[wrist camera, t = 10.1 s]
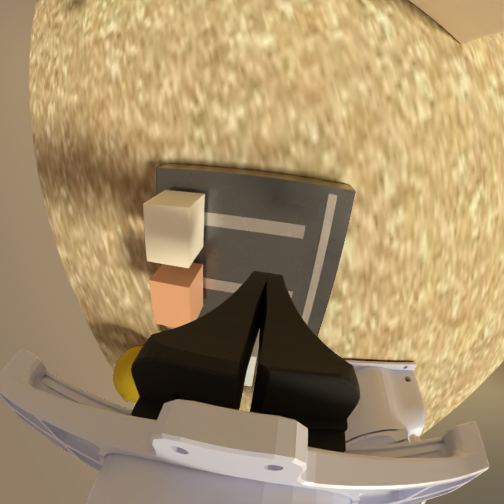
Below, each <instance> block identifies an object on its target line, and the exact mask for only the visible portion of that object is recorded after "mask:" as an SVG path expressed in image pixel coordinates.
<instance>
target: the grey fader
mask: <svg viewBox="0 0 504 504" xmlns="http://www.w3.org/2000/svg"><path fill="white" fill-rule="evenodd" d="M259 332H260V329H259ZM259 332H258V335H257V338H256V342H255V345H254V348H253V352H252V355H251V358H250V362H249V365H248V369H247V373H246V378H245V383H244V385H245V386H251V387H252V382H253V376H254V371H255V365H256V359H257V353H258V347H259Z"/></svg>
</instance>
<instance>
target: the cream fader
mask: <svg viewBox="0 0 504 504" xmlns="http://www.w3.org/2000/svg"><path fill="white" fill-rule="evenodd" d="M204 203H205V194H203V193H193V192H182V191H170V190H164V191H163V192H161V193H159V194H158V195H156V196H154V197H153V198H151V199H149V200H148V201H146V202H145V203H143V214H144V231H145V244H146V256H147V261H149V262H155V263H160V264H166V265H172V266H178V267H184V268H189V267H190V265H191V264H192V262H193V261H194V259H195V258H196V257H197V255H198V254H199V252H200V251H201V249H202V248H203V238H204Z"/></svg>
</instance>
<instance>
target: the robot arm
mask: <svg viewBox="0 0 504 504" xmlns="http://www.w3.org/2000/svg"><path fill="white" fill-rule="evenodd" d="M259 328H260V332H259ZM258 332H259V349H258V366H257V375H256V381H255V386H254V392H253V398H252V403H251V409H250V412H247V411H241V410H239V408H240V403H241V398H242V393H243V388H244V383H245V378H246V373H247V369H248V365H249V362H250V358H251V355H252V352H253V348H254V345H255V342H256V338H257V335H258ZM415 367H416V364H415V363H414V362H376V361H356V360H344V359H342V358H341V357H339V356H338V355H337V354H335V353H334V352H333V351H332V350H331V349H329V348H328V347H327V346H326V345H325V344H324V343H323V342H322V341H321V340H320V339H319V338H318V337H317V336H316V335H315V334H314V333H313V332H312V331H311V329H310V328H309V327H308V325H307V324H306V323H305V321H304V320H303V318H302V317H301V315H300V314H299V312H298V310H297V309H296V307H295V305H294V303H293V301H292V299H291V297H290V295H289V292H288V290H287V287H286V284H285V281H284V277H283V276H282V275H280V274H273V273H266V272H259V271H253V272H252V273H251V275H250V276H249V277H248V278H247V280H246V281H245V282H244V283H243V284H242V285H241V286H240V287H239V288H238V289H237V290H236V291H235V292H234V293H233V294H232V295H231V296H230V297H229V298H228V299H226V300H225V301H224V302H223V303H222V304H220V305H219V306H218V307H216V308H215V309H213V310H212V311H210V312H209V313H207V314H205V315H203V316H202V317H200V318H198V319H196V320H194V321H192V322H189V323H187V324H185V325H182V326H179V327H177V328H174V329H170V330H167V331H163V332H160V333H156V334H152V335H151V337H150V338H149V339H148V340H147V342H146V343H145V344H144V345H143V347H142V348H141V350H140V352H139V353H138V355H137V357H136V358H135V360H134V362H133V363H132V367H131V373H132V377H133V380H134V383H135V386H136V388H137V391H138V394H139V396H140V397H139V399H138V401H137V403H136V405H135V407H134V409H133V410H130V409H127V408H125V407H122V406H120V405H117V404H114V403H112V402H109V401H107V400H105V399H102V398H100V397H98V396H95V395H93V394H91V393H89V392H86V391H84V390H82V389H80V388H78V387H76V386H74V385H72V384H70V383H68V382H66V381H64V380H62V379H60V378H58V377H57V376H55V375H53V374H51V373H49V372H47V370H46V367H45V365H44V364H43V362H42V361H41V360H40V359H39V358H38V357H37V356H36V355H34V354H32V353H30V352H29V351H27V350H25V349H24V348H21V349H20V350H19V351H18V352H17V353H16V354H15V356H14V357H13V358H12V359H11V360H10V362H9V363H8V364H7V365H6V367H5V368H4V369H3V370H2V371H1V372H0V396H1V397H2V398H3V400H4V401H5V402H6V403H7V404H8V406H9V407H10V408H11V409H12V410H13V411H14V413H15V414H16V415H17V416H18V417H19V418H20V419H21V420H23V421H24V422H25V423H27V424H28V425H29V426H30V427H32V428H33V429H35V430H36V431H37V432H39V433H40V434H41V435H43V436H44V437H46V438H47V439H48V440H50V441H51V442H53V443H54V444H56V445H57V446H59V447H60V448H62V449H63V450H65V451H66V452H68V453H69V454H71V455H73V456H74V457H76V458H77V459H79V460H81V461H82V462H84V463H86V464H87V465H89V466H91V467H93V468H95V469H96V470H98V471H100V472H99V474H98V476H97V478H96V480H95V483H94V485H93V487H92V489H91V492H90V494H89V496H88V498H87V501H86V503H85V504H425V502H426V500H428V499H431V498H434V497H438V496H441V495H444V494H447V493H450V492H452V491H454V490H456V489H457V488H459V487H461V486H462V485H464V484H466V483H467V482H469V481H471V480H472V479H474V478H475V477H477V476H478V475H480V474H481V473H483V472H484V471H486V470H487V469H488V468H489V463H488V460H487V456H486V452H485V448H484V445H483V442H482V438H481V435H480V432H479V429H478V426H477V423H476V421H472V422H468V423H464V424H459V425H457V426H455V427H453V428H451V429H450V430H449V431H447V432H446V434H445V435H444V436H443V437H438V438H432V439H426V440H421V439H420V437H419V436H420V434H421V432H422V430H423V428H424V424H425V407H424V403H423V399H422V396H421V393H420V389H419V386H418V383H417V380H416V377H415V374H414V371H413V370H414V369H415Z"/></svg>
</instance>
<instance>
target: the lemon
mask: <svg viewBox="0 0 504 504" xmlns="http://www.w3.org/2000/svg"><path fill="white" fill-rule="evenodd" d="M142 347H143V346H136V347H133V348H130V349H129V350H127V351H126V352H125V353H124V354H123V355H122V356H121V357H120V358H119V360H118V362H117V364H116V366H115V370H114V375H113V380H114V385H115V388H116V390H117V391H118V393H119V394H120V395H121V396H122V397H123V400H125V401H127V402H128V401H131V402H135V403H137V401H138V399H139V397H140V396H139V394H138V391H137V388H136V386H135V383H134V380H133V377H132V373H131V367H132V363H133V362H134V360H135V358H136V357H137V355H138V353H139V352H140V350H141V348H142Z"/></svg>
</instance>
